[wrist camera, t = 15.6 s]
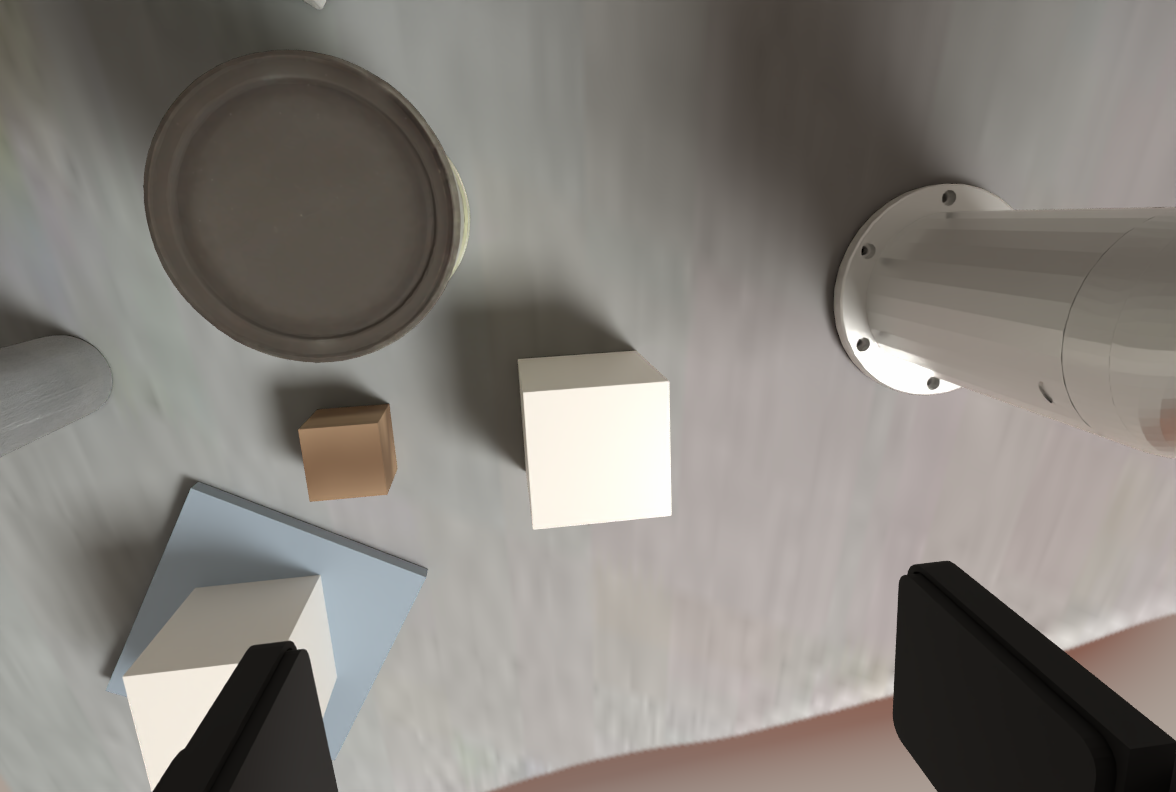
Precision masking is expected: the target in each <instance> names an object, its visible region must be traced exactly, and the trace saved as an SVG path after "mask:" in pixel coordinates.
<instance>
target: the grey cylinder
mask: <svg viewBox="0 0 1176 792" xmlns="http://www.w3.org/2000/svg"><path fill="white" fill-rule="evenodd" d="M112 383H113V381H112V373H111V370H110V367H109V365H108V363H107V361H106V359H105V358H104V357H103V355H102V354H101V353H100V352H99V351H98V350H97V349H96V348H95V347H93V346H92V345H90V344H89V343H87V342H85V341H83V340H81V339H78V338H75V337H72V336H66V335H54V336H47V337H42V338H38V339H34V340H30V341H26V342H22V343H19V344H15V345H11V346H7V347H3V348H0V457H2V456H4V455H6V454H8V453H10V452H12V451H14V450H16V449H19V448H21V447H23V446H25V445H27V444H29V443H31V442H33V441H35V440H37V439H39V438H42V437H44V436H46V435H48V434H50V433H52V432H54V431H56V430H58V429H60V428H62V427H65V426H67V425H69V424H71V423H73V422H75V421H77V420H79V419H81V418H83V417H85V416H87V415H89V414H91V413H93V412H94V411H96V410H98V409H99V408H100V407H101V406H103V405H104V403H105V402H106V401H107V399H108V398H109V396H110V393H111V390H112Z"/></svg>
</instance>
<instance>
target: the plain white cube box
mask: <svg viewBox="0 0 1176 792" xmlns="http://www.w3.org/2000/svg"><path fill="white" fill-rule="evenodd" d="M518 371H519V385H520V398H521V412H522V425H523V438H524V452H525V465H526V476H527V484H528V492H529V500H530V509H531V517H532V525H533V530H534V529H544V528H554V527H564V526H574V525H584V524H594V523H604V522H614V521H624V520H633V519H643V518H653V517H663V516H671V459H670V400H669V381H668V380H667V379H666V378H665V377H664V376H663V375H662V374H661V373H660V372H659V371H658V370H657V369H655V368H654V367H653V366H652V365H651V364H650V363H649V362H648V361H647V360H646V359H645V358H644V357H643V356H641V355H640V354H639V353H638V352H637V351H623V352H609V353H595V354H581V355H568V356H554V357H540V358H526V359H518Z"/></svg>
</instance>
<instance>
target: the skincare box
mask: <svg viewBox="0 0 1176 792" xmlns="http://www.w3.org/2000/svg"><path fill="white" fill-rule="evenodd" d="M303 1H305V2H306V3H308V4H310V5H311V6H313V7H315V8H316V9H322V8H323V7H324V5H325V3H326V1H327V0H303Z"/></svg>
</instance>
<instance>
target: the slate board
mask: <svg viewBox="0 0 1176 792" xmlns="http://www.w3.org/2000/svg"><path fill="white" fill-rule="evenodd" d="M427 570H428V569H426V568H423V567H420V566H418V565H415V564H413V563H410V562H407V561H405V560H402V559H400V558H397V557H394V556H392V555H389V554H386V553H384V552H381V551H379V550H376V549H373V548H371V547H368V546H366V545H363V544H360V543H358V542H355V541H352V540H350V539H347V538H345V537H342V536H339V535H337V534H334V533H332V532H329V531H326V530H324V529H321V528H318V527H316V526H313V525H311V524H308V523H305V522H303V521H300V520H298V519H295V518H292V517H290V516H287V515H284V514H282V513H279V512H277V511H274V510H271V509H269V508H266V507H264V506H261V505H258V504H256V503H253V502H251V501H248V500H245V499H243V498H240V497H237V496H235V495H232V494H230V493H227V492H224V491H222V490H219V489H217V488H214V487H211V486H209V485H206V484H203V483H201V482H197V483H196V484H195V485H194V486H193V487H192V488H191V489H190V491H189V494H188V496H187V499H186V501H185V503H184V506H183V508H182V510H181V513H180V515H179V518H178V520H177V522H176V525H175V527H174V529H173V532H172V534H171V537H170V539H169V541H168V544H167V546H166V548H165V551H164V553H163V556H162V558H161V560H160V563H159V565H158V567H157V570H156V572H155V575H154V577H153V579H152V582H151V584H150V586H149V589H148V591H147V594H146V596H145V598H144V601H143V603H142V605H141V608H140V610H139V613H138V615H137V617H136V620H135V622H134V624H133V627H132V629H131V632H130V634H129V636H128V639H127V641H126V643H125V646H124V648H123V651H122V653H121V655H120V658H119V660H118V662H117V665H116V667H115V670H114V672H113V674H112V677H111V679H110V681H109V684H108V686H107V689H106V691H108V692H111V693H115V694H118V695H121V696H125V697H127V693H126V689H125V685H124V681H123V676H124V674H125V673H126V672H127V671H128V669H129V668H130V667H131V666H132V665H133V663H134V662H135V661H136V660H137V658H138V657H139V656H140V655H141V653H142V652H143V651H144V650H145V649H146V647H147V646H148V645H149V644H150V642H151V641H152V640H153V639H154V638H155V636H156V635H157V634H158V633H159V631H160V630H161V629H162V628H163V627H164V625H165V624H166V623H167V622H168V620H169V619H170V618H171V617H172V615H173V614H174V613H175V612H176V611H177V609H178V608H179V607H180V606H181V604H182V603H183V602H184V601H185V600H186V598H187V597H188V596H189V595H190V593H191V592H192V591H193V590H194V589H195V588H199V587H209V586H218V585H228V584H237V583H247V582H257V581H266V580H276V579H285V578H295V577H305V576H314V575H321V581H322V587H323V593H324V600H325V606H326V612H327V618H328V624H329V630H330V636H331V643H332V649H333V655H334V661H335V667H336V673H337V679H336V682H335V685H334V688H333V690H332V693H331V696H330V699H329V702H328V705H327V708H326V711H325V714H324V716H323V722H324V727H325V732H326V737H327V741H328V746H329V751H330V756H331V759H332V760H335V759H336V757H337V755H338V753H339V751H340V749H341V747H342V745H343V743H344V741H345V739H346V737H347V735H348V733H349V731H350V729H351V727H352V725H353V723H354V721H355V719H356V717H357V715H358V713H359V711H360V709H361V707H362V705H363V703H364V701H365V699H366V697H367V695H368V693H369V691H370V689H371V687H372V685H373V683H374V681H375V679H376V677H377V675H378V673H379V671H380V669H381V667H382V665H383V663H384V661H385V659H386V657H387V655H388V653H389V651H390V649H391V647H392V645H393V643H394V641H395V639H396V637H397V635H398V633H399V631H400V629H401V627H402V625H403V623H404V621H405V619H406V617H407V615H408V613H409V611H410V609H411V607H412V605H413V603H414V601H415V599H416V597H417V595H418V593H419V591H420V589H421V587H422V585H423V583H424V581H425V579H426V576H427Z"/></svg>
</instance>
